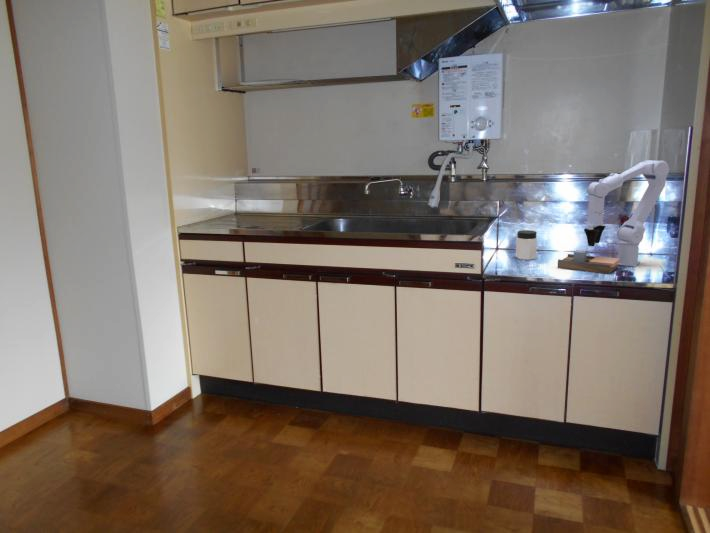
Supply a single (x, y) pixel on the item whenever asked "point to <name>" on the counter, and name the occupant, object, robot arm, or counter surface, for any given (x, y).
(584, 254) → the block
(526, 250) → the jar
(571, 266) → the board
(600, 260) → the lid
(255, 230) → the counter surface
